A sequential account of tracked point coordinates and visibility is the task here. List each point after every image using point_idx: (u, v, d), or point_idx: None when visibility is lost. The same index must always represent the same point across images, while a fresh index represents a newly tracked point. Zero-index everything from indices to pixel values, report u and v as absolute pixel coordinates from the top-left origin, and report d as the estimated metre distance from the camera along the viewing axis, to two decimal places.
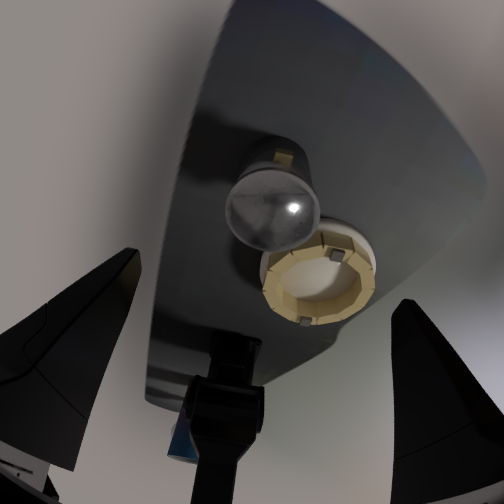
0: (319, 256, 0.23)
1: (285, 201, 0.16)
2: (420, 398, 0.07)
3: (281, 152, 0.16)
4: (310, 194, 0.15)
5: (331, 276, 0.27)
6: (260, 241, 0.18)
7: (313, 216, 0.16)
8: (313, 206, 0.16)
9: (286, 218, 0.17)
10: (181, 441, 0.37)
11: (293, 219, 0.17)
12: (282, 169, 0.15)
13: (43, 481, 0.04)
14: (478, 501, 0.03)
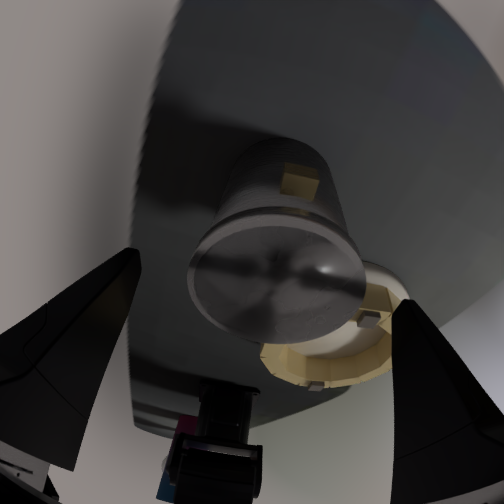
0: None
1: (303, 273, 0.08)
2: (420, 398, 0.07)
3: (295, 172, 0.08)
4: (353, 262, 0.08)
5: (353, 333, 0.19)
6: (254, 330, 0.10)
7: (352, 297, 0.08)
8: (355, 282, 0.08)
9: (303, 301, 0.09)
10: (170, 486, 0.29)
11: (316, 302, 0.09)
12: (299, 212, 0.07)
13: (43, 480, 0.04)
14: (478, 501, 0.03)
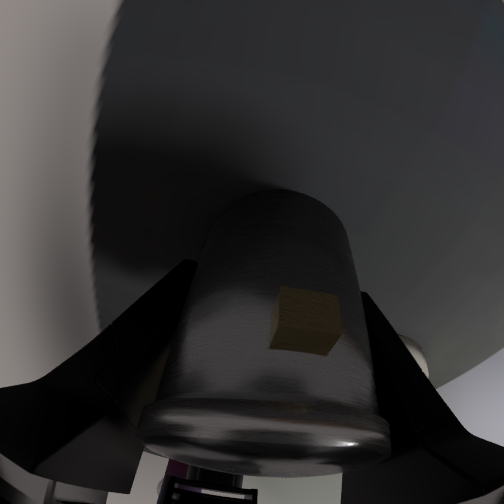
0: None
1: (301, 460, 0.04)
2: None
3: (299, 319, 0.04)
4: (377, 450, 0.04)
5: None
6: (235, 471, 0.06)
7: (367, 462, 0.05)
8: (374, 457, 0.04)
9: (299, 468, 0.05)
10: None
11: (317, 468, 0.05)
12: (300, 416, 0.04)
13: None
14: None
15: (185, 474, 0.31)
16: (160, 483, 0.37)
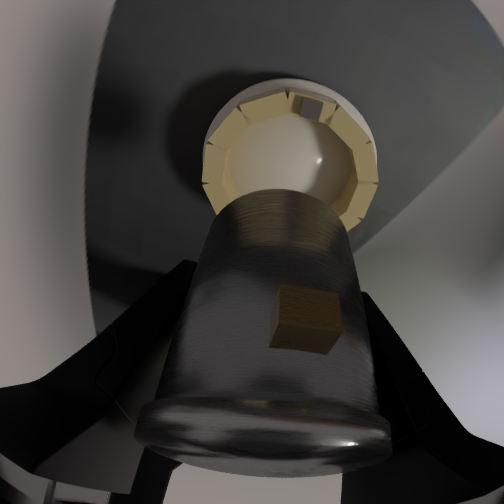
0: (283, 113, 0.14)
1: (300, 460, 0.04)
2: None
3: (300, 317, 0.04)
4: (378, 450, 0.04)
5: (310, 170, 0.17)
6: (235, 471, 0.06)
7: (368, 462, 0.05)
8: (375, 457, 0.04)
9: (299, 467, 0.05)
10: None
11: (317, 468, 0.05)
12: (300, 415, 0.03)
13: None
14: None
15: None
16: None
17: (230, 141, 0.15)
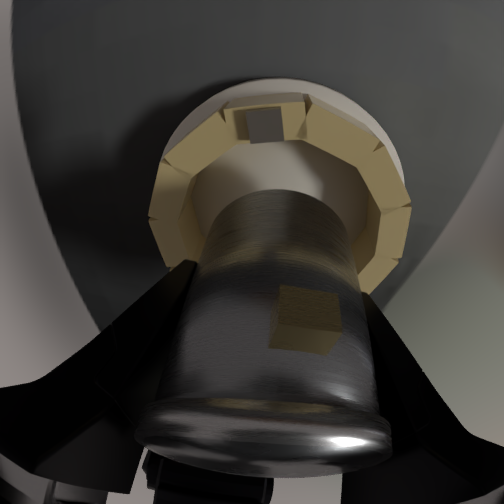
0: (227, 145, 0.09)
1: (301, 461, 0.04)
2: None
3: (299, 318, 0.04)
4: (378, 450, 0.04)
5: None
6: (236, 472, 0.06)
7: (368, 463, 0.05)
8: (376, 458, 0.04)
9: (299, 468, 0.05)
10: None
11: (317, 468, 0.05)
12: (300, 416, 0.03)
13: None
14: None
15: None
16: None
17: (175, 209, 0.10)
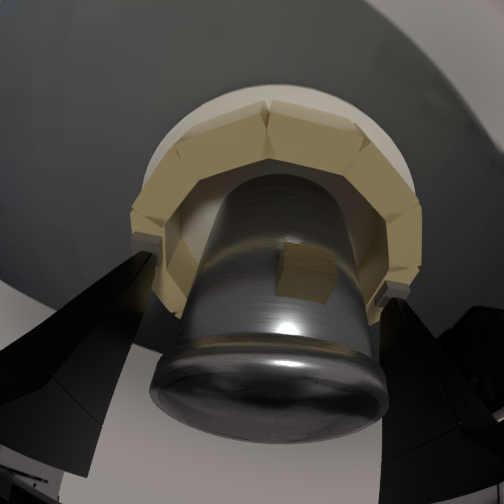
0: (166, 275, 0.10)
1: (305, 407, 0.05)
2: (407, 399, 0.07)
3: (301, 266, 0.05)
4: (376, 396, 0.05)
5: None
6: (241, 436, 0.07)
7: (367, 418, 0.06)
8: (373, 409, 0.05)
9: (302, 423, 0.06)
10: None
11: (319, 424, 0.06)
12: (304, 348, 0.04)
13: (57, 488, 0.04)
14: None
15: None
16: None
17: None
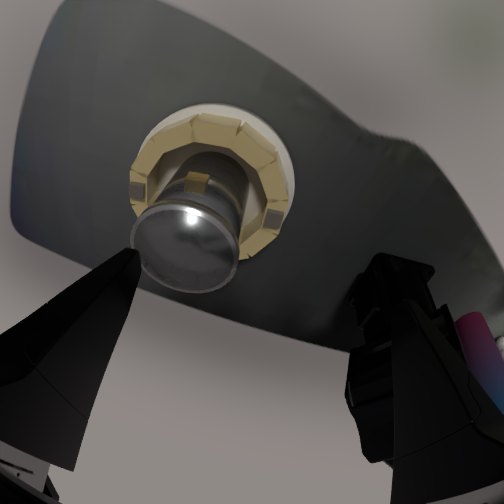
0: None
1: (193, 239, 0.13)
2: (420, 398, 0.07)
3: (192, 178, 0.13)
4: (222, 232, 0.13)
5: None
6: (174, 281, 0.15)
7: (230, 257, 0.14)
8: (228, 246, 0.13)
9: (199, 259, 0.14)
10: None
11: (207, 260, 0.14)
12: (186, 201, 0.12)
13: (43, 480, 0.04)
14: (478, 501, 0.03)
15: (467, 354, 0.24)
16: None
17: None
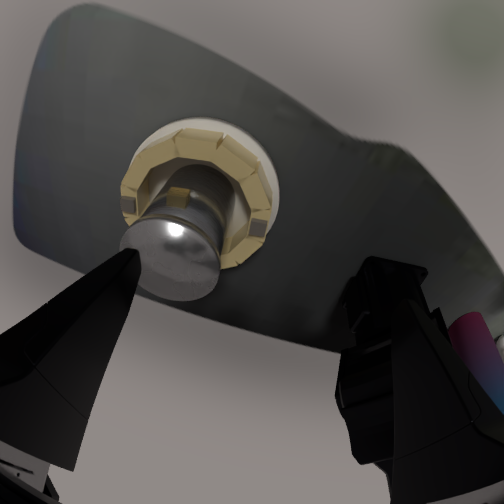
0: None
1: (176, 251, 0.14)
2: (420, 398, 0.07)
3: (173, 193, 0.14)
4: (201, 244, 0.13)
5: None
6: (163, 290, 0.16)
7: (211, 267, 0.14)
8: (208, 257, 0.14)
9: (182, 269, 0.15)
10: None
11: (190, 270, 0.15)
12: (167, 216, 0.13)
13: (43, 480, 0.04)
14: (478, 501, 0.03)
15: (465, 354, 0.24)
16: None
17: None
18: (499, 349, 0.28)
